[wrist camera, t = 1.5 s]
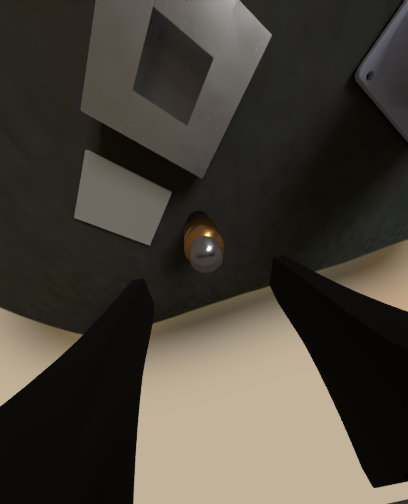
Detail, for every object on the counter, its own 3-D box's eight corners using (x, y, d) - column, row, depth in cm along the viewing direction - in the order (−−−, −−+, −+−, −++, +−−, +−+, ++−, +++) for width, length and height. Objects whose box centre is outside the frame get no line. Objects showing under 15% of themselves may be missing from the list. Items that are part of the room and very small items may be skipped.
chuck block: (252, 60, 11) (271, 35, 9) (198, 173, 15) (202, 179, 12) (133, -51, 9) (114, -130, 6) (101, 118, 12) (80, 110, 10)
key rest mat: (172, 191, 15) (171, 192, 15) (150, 243, 18) (149, 245, 18) (87, 149, 13) (85, 149, 13) (76, 216, 16) (74, 217, 15)
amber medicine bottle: (218, 214, 17) (237, 250, 11) (204, 238, 18) (214, 281, 12) (191, 201, 16) (196, 232, 10) (178, 227, 17) (177, 268, 11)
